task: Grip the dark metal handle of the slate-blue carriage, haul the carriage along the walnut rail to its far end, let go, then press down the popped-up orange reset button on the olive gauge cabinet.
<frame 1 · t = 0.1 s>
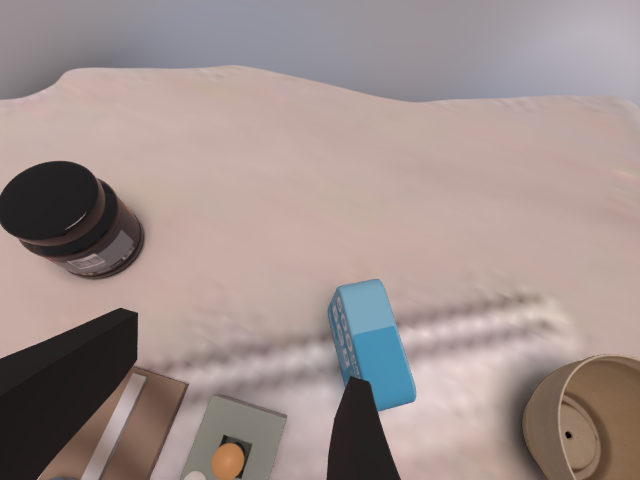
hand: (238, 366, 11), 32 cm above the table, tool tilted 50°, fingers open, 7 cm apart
planter bowl: (558, 433, 41), on the table
rail: (107, 458, 36), on the table
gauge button: (231, 457, 32), point 6 cm above the table, slide at 0.0 cm
gauge cabinet: (239, 448, 37), on the table
data package: (354, 352, 43), on the table
supplement container: (106, 244, 46), on the table
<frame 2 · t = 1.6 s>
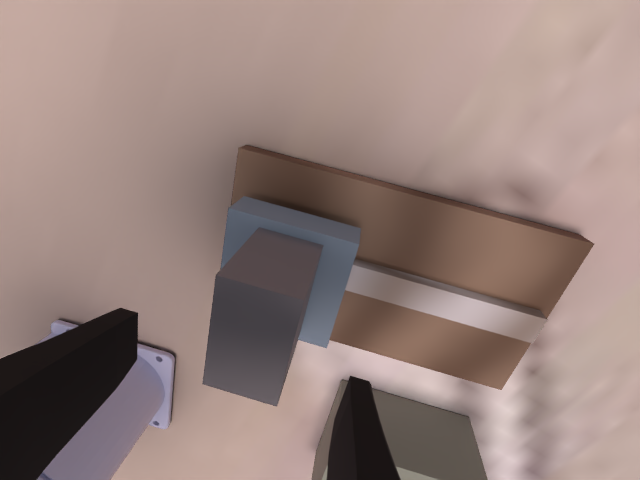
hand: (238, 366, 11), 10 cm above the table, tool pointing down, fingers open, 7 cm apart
carriage: (276, 292, 15), point 5 cm above the table, slide at -5.0 cm
rail: (381, 269, 20), on the table
gauge cabinet: (386, 435, 25), on the table
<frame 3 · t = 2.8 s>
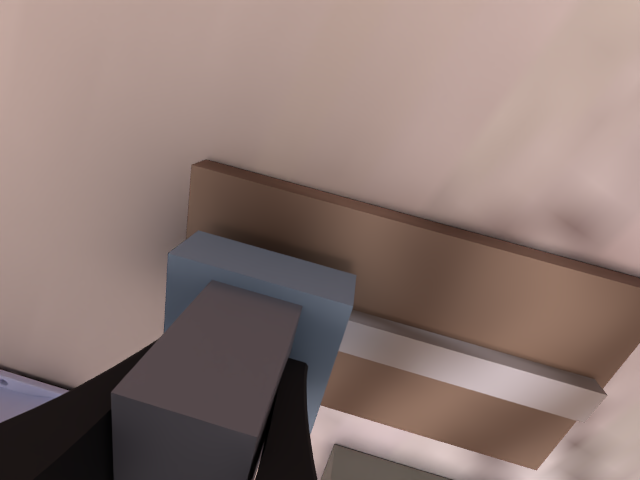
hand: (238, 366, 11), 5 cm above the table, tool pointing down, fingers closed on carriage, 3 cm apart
carriage: (236, 370, 11), point 5 cm above the table, slide at -5.0 cm, touching gripper
rail: (383, 318, 15), on the table
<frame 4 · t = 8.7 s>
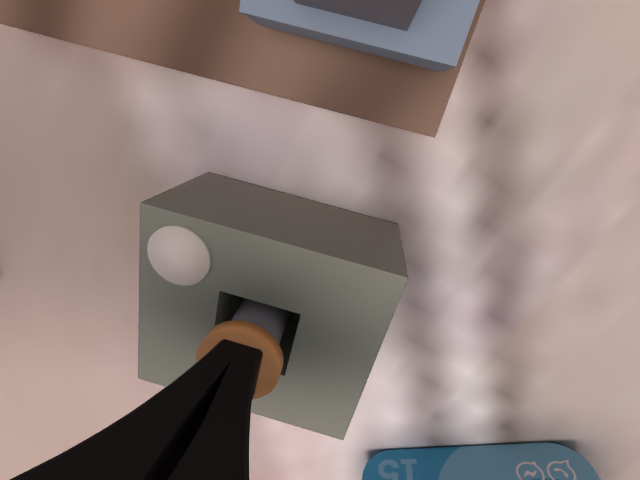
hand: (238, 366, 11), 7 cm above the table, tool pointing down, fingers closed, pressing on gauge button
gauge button: (259, 324, 13), point 4 cm above the table, slide at 1.2 cm, touching gripper
gauge cabinet: (285, 271, 17), on the table
data package: (466, 466, 21), on the table
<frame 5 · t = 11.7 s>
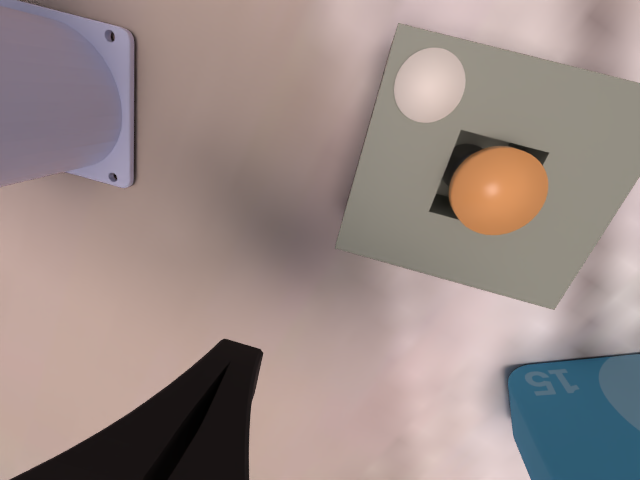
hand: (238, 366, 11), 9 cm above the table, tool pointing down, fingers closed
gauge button: (478, 178, 13), point 4 cm above the table, slide at 1.4 cm
gauge cabinet: (454, 160, 16), on the table
data package: (609, 381, 20), on the table
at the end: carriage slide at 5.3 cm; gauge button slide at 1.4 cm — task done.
